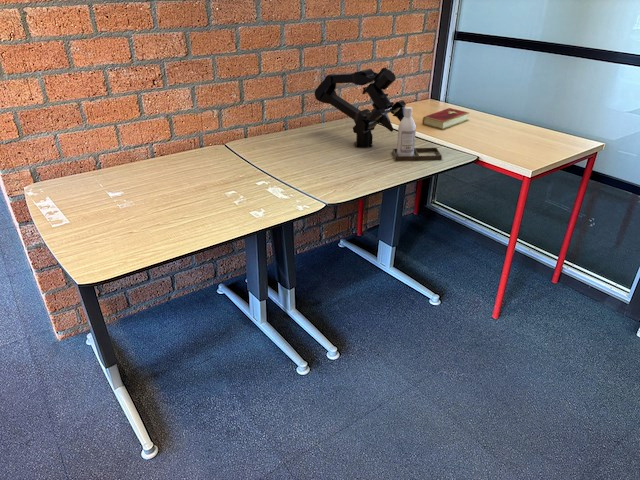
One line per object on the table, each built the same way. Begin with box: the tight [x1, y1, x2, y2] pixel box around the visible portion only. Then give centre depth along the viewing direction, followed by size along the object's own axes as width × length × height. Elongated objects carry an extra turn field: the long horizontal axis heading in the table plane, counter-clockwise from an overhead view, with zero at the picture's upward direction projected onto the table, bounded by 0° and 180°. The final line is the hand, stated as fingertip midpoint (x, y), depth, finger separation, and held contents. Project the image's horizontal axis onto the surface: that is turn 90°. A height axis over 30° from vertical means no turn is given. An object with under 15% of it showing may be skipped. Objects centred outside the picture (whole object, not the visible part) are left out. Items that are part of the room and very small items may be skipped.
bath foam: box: [396, 106, 417, 156], centre depth 196 cm, size 7×7×20 cm
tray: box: [392, 147, 443, 162], centre depth 201 cm, size 18×10×2 cm, turn 91°
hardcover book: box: [422, 107, 470, 131], centre depth 238 cm, size 12×21×4 cm, turn 132°
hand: (399, 128), depth 198 cm, fingers open, 9 cm apart
